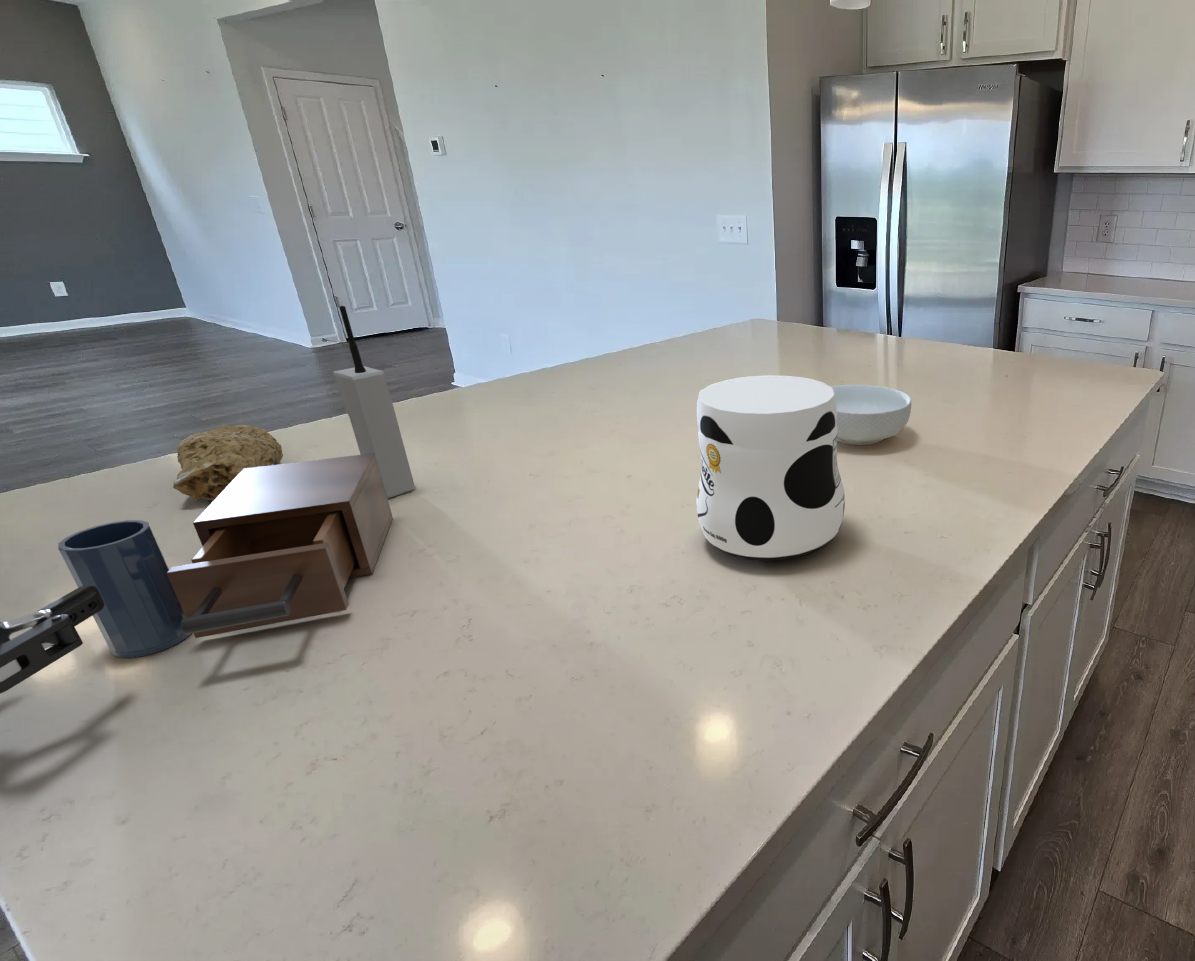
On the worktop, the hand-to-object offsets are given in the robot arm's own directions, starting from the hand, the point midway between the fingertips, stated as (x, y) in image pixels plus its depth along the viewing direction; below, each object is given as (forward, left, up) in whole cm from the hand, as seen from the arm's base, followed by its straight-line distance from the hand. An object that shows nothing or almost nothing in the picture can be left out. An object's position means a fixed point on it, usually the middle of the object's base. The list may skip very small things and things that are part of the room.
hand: (38, 596), depth 55 cm
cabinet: (+12, +19, -9) cm, 24 cm away
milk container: (+61, +3, -9) cm, 62 cm away
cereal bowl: (+85, +31, -9) cm, 91 cm away
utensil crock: (+2, +6, -9) cm, 11 cm away
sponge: (-4, +49, -9) cm, 50 cm away
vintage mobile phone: (+17, +36, -9) cm, 41 cm away
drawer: (+12, +7, -8) cm, 16 cm away
